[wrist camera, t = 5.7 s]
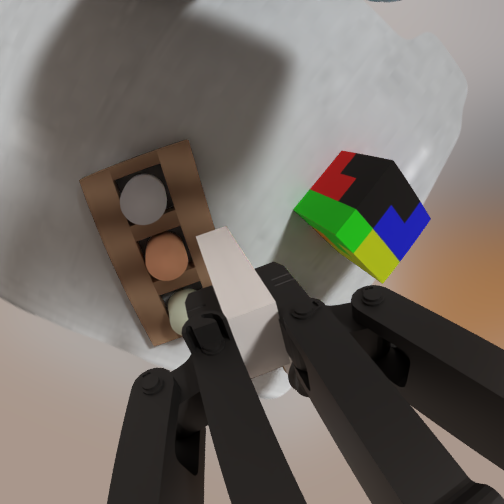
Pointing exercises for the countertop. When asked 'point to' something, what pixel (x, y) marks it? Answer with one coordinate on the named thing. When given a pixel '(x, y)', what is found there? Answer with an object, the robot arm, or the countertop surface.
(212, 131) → the countertop surface
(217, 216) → the countertop surface
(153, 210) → the button grey
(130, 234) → the button board
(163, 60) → the countertop surface
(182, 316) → the button sage
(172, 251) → the button terracotta
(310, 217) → the puzzle toy
